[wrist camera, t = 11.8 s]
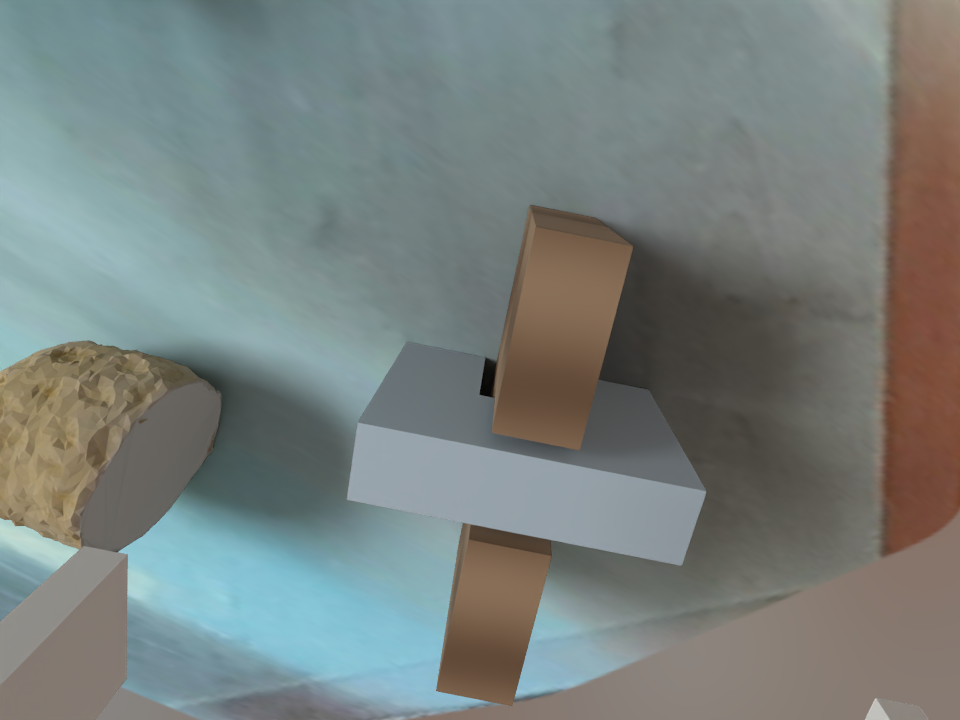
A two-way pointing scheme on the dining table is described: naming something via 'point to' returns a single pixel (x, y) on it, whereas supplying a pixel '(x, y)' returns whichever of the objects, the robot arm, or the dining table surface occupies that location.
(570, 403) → the walnut board
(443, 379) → the grey slotted slab
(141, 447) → the tan rough cut rock
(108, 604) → the robot arm
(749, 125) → the dining table surface
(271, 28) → the dining table surface
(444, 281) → the dining table surface
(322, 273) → the dining table surface
